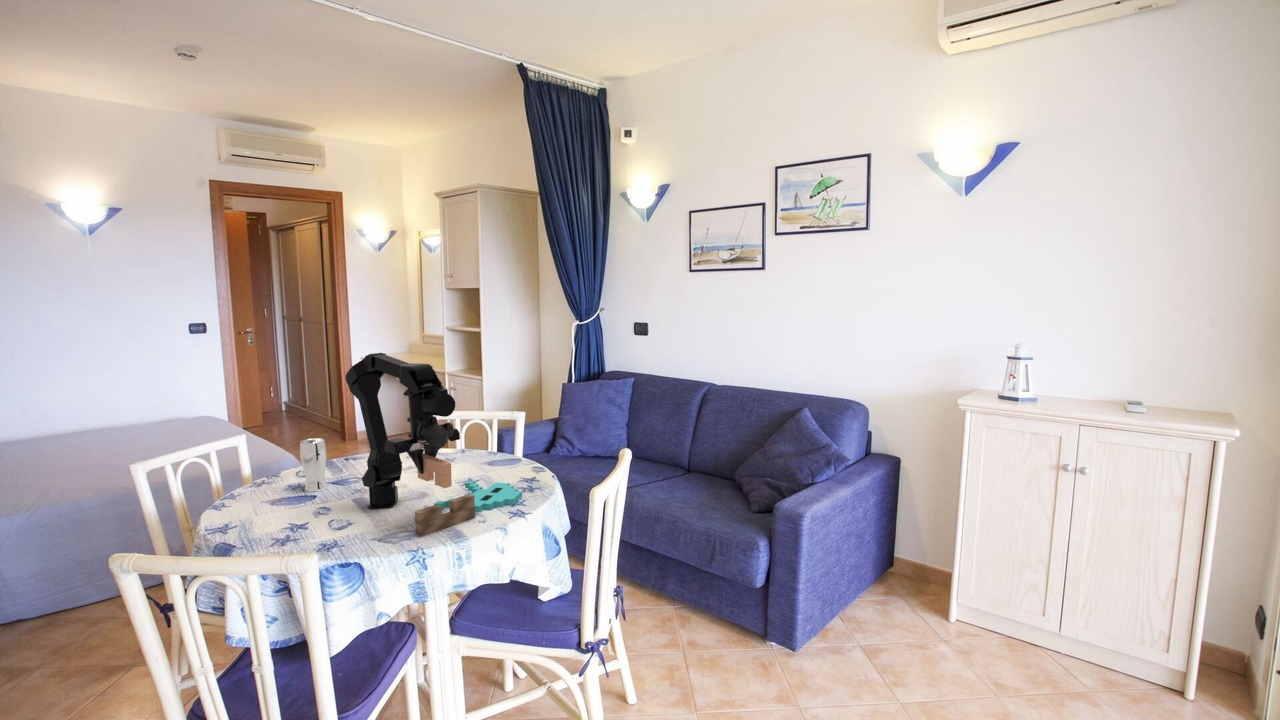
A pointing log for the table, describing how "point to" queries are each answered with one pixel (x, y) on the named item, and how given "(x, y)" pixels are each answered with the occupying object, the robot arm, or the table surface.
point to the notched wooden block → (444, 515)
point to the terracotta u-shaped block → (436, 471)
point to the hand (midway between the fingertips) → (425, 472)
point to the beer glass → (314, 463)
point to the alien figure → (489, 496)
